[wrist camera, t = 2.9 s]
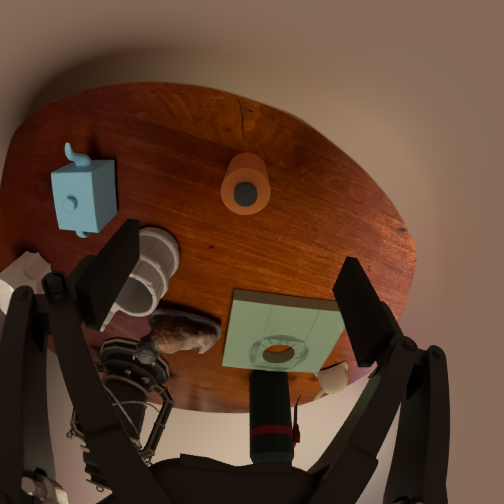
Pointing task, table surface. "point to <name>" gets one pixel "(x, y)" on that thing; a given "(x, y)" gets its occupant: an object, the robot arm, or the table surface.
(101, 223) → the teapot
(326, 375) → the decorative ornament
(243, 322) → the green peg socket base
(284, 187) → the table surface
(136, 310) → the mug
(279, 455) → the wine bottle
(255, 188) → the orange cylinder
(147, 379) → the lantern
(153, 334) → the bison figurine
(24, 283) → the cup
